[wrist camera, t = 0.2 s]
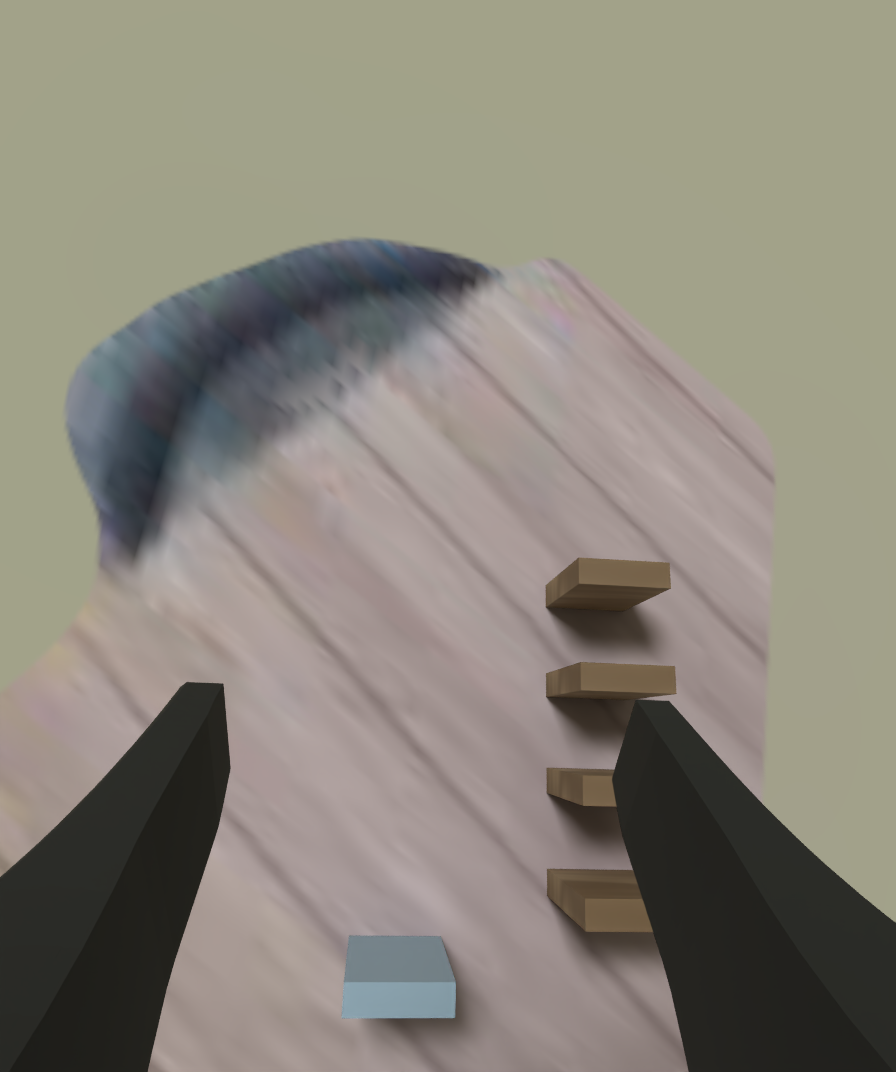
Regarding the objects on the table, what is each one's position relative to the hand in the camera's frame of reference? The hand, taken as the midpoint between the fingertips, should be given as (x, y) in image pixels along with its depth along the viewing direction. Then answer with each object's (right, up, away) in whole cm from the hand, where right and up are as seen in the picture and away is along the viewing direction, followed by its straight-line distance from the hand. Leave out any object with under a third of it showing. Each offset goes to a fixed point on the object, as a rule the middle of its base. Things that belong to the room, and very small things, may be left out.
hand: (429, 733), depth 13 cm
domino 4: (+9, -11, +30) cm, 33 cm away
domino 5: (+8, -16, +28) cm, 34 cm away
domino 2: (+9, 0, +33) cm, 34 cm away
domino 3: (+9, -6, +31) cm, 33 cm away
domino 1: (-3, -19, +26) cm, 33 cm away
